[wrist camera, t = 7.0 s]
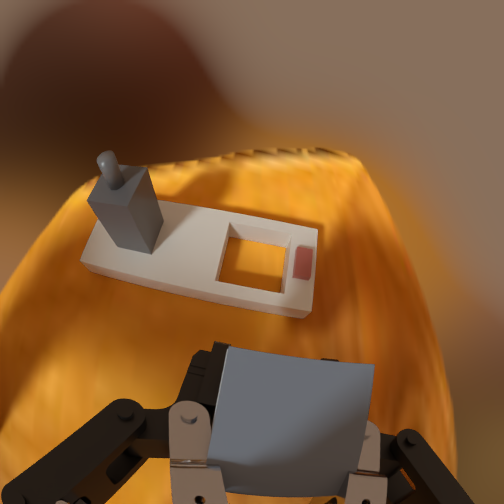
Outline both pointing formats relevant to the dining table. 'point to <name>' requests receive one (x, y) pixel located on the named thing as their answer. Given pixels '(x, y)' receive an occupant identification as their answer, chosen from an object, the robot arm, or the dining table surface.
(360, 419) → the plug
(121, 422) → the robot arm
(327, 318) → the dining table surface
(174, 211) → the strip
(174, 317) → the dining table surface
